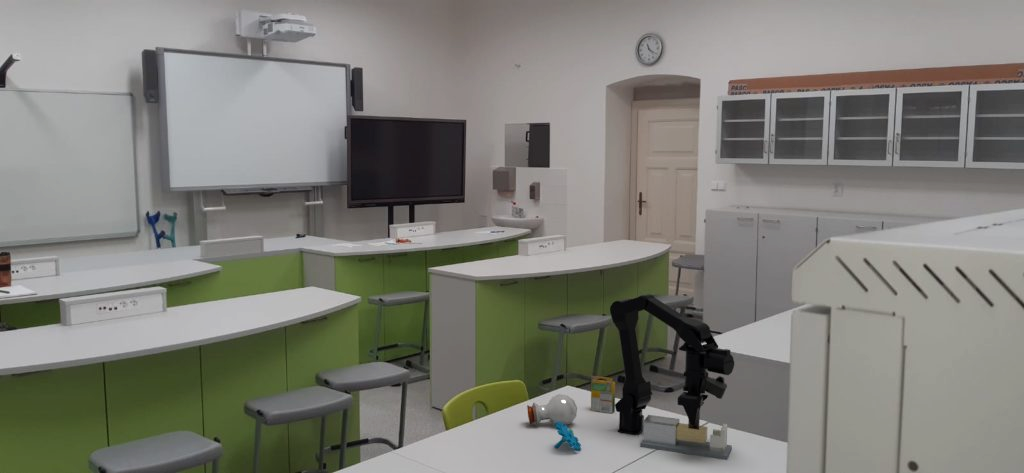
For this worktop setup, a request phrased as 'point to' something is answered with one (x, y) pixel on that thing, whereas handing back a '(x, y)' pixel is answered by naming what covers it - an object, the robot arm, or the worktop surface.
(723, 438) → the socket
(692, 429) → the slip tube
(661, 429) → the sleeve
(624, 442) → the worktop surface
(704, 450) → the board
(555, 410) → the potion bottle
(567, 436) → the gear
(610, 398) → the crayon box
